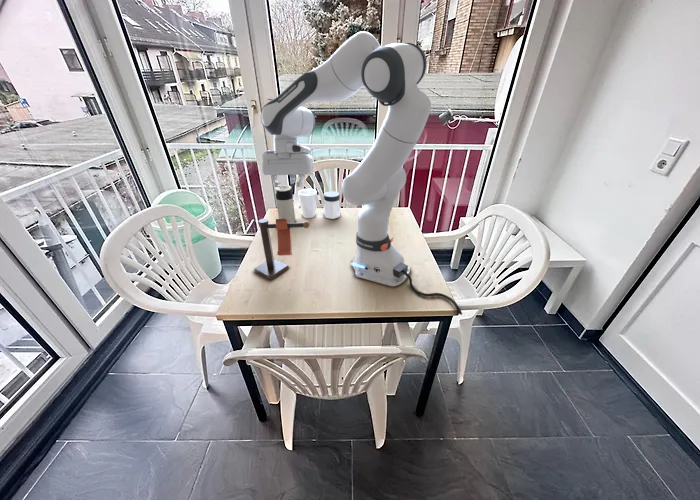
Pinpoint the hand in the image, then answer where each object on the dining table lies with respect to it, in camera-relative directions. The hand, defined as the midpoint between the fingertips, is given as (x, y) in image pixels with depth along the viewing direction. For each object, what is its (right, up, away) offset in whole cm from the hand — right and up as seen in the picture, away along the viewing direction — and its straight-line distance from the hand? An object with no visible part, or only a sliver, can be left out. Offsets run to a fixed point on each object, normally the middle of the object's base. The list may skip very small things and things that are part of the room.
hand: (288, 187), depth 109 cm
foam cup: (+2, -6, +41) cm, 42 cm away
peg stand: (-2, -32, +1) cm, 32 cm away
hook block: (0, -26, -9) cm, 27 cm away
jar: (+14, -6, +41) cm, 44 cm away
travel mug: (-8, -10, +35) cm, 37 cm away
